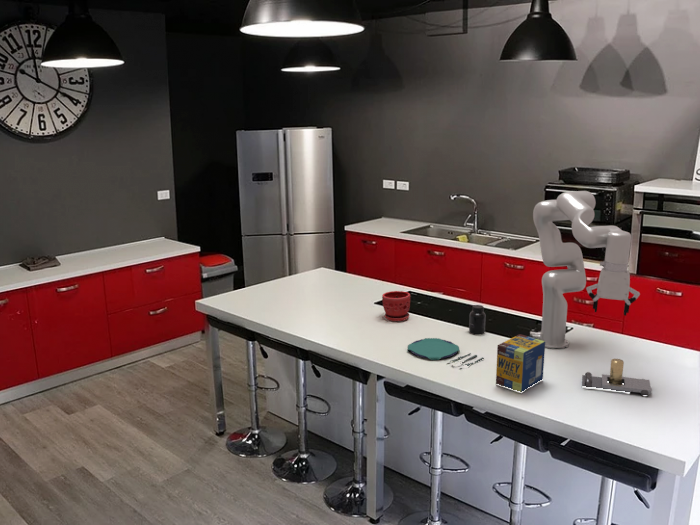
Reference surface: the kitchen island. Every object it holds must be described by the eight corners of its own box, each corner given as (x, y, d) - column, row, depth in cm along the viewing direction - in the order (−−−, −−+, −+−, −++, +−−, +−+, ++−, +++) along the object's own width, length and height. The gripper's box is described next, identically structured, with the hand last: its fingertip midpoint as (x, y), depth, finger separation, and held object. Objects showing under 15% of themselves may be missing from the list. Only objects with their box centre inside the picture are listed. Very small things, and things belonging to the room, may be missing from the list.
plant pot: (410, 314, 300) (410, 290, 298) (410, 323, 288) (410, 298, 285) (383, 313, 302) (382, 289, 299) (381, 322, 289) (381, 298, 286)
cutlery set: (432, 338, 269) (432, 333, 268) (488, 360, 246) (488, 355, 246) (398, 351, 256) (398, 346, 256) (454, 375, 234) (455, 369, 233)
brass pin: (609, 388, 219) (611, 362, 216) (608, 384, 222) (611, 357, 220) (621, 390, 217) (624, 363, 215) (620, 385, 221) (623, 359, 219)
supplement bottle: (467, 333, 274) (467, 307, 271) (471, 328, 279) (472, 303, 277) (482, 336, 270) (483, 309, 268) (486, 331, 276) (487, 305, 273)
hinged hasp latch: (581, 388, 219) (582, 382, 219) (582, 377, 228) (582, 371, 227) (650, 397, 212) (651, 391, 211) (648, 385, 220) (649, 379, 220)
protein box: (495, 385, 223) (496, 344, 219) (518, 372, 233) (520, 333, 230) (521, 394, 216) (523, 352, 212) (543, 380, 226) (546, 340, 222)
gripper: (588, 266, 216) (583, 313, 221) (643, 272, 210) (637, 319, 215) (589, 261, 222) (584, 306, 227) (642, 265, 216) (636, 312, 221)
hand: (610, 312), depth 221 cm, fingers open, 9 cm apart
